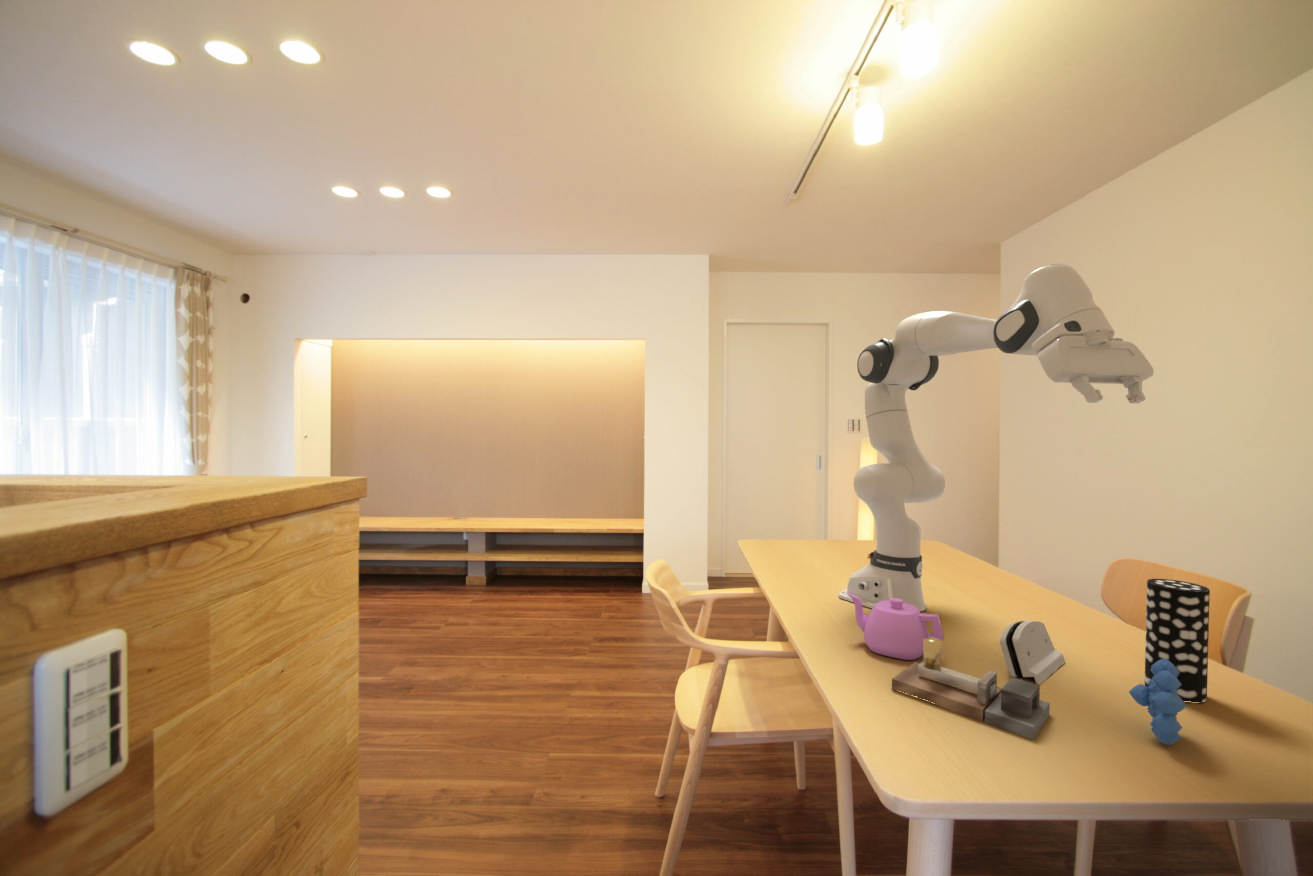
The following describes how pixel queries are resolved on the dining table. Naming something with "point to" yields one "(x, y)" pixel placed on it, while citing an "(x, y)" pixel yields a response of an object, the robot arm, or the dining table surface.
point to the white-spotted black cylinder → (1179, 633)
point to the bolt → (946, 670)
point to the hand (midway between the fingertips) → (1117, 401)
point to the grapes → (1162, 700)
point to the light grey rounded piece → (1029, 650)
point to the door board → (983, 700)
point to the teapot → (896, 628)
